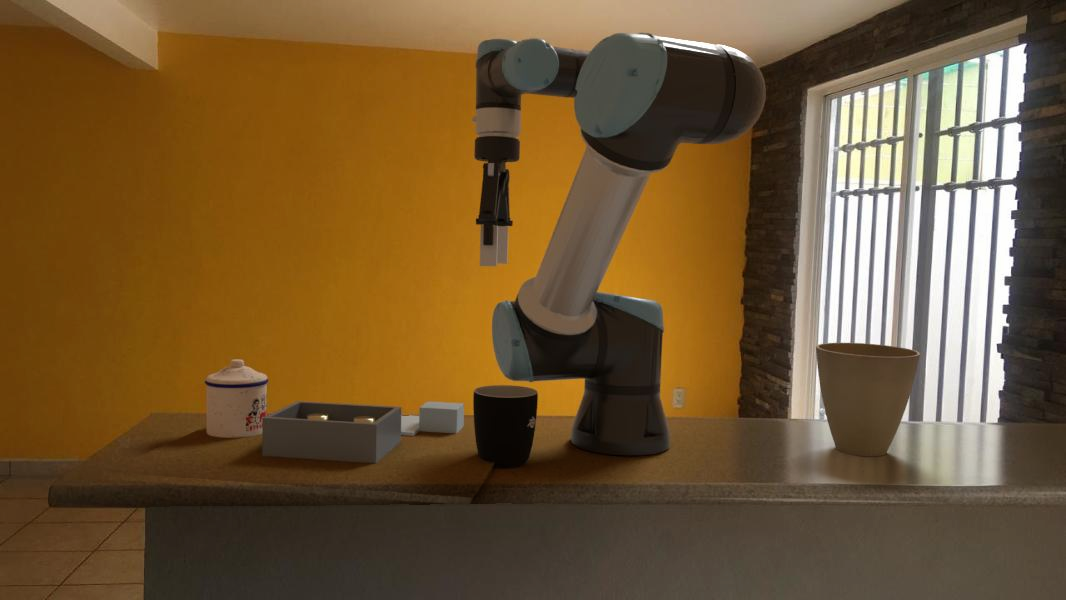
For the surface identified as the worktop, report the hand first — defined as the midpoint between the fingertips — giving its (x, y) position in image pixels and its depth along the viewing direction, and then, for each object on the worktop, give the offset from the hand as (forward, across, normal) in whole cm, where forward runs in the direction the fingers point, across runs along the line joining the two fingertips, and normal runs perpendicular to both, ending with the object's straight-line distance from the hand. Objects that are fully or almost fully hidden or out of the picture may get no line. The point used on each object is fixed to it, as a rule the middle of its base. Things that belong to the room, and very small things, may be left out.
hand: (494, 265), depth 145 cm
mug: (+27, +24, +6) cm, 37 cm away
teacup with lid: (+27, +18, -36) cm, 48 cm away
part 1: (+26, +24, -22) cm, 41 cm away
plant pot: (+27, +8, +59) cm, 65 cm away
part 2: (+26, +24, -15) cm, 38 cm away
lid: (+27, +11, -14) cm, 32 cm away
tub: (+26, +26, -18) cm, 42 cm away
